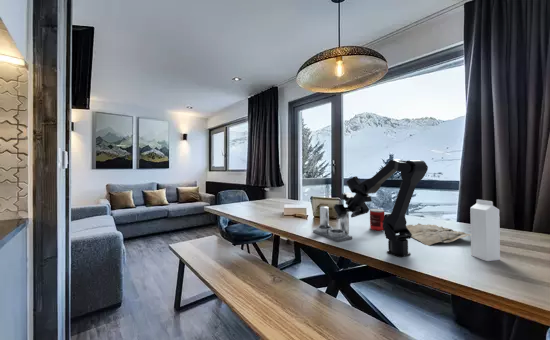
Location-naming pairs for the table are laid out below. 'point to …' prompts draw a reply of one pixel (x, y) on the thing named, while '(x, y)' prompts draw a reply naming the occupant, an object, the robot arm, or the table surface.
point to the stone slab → (434, 233)
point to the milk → (485, 231)
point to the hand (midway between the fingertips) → (344, 217)
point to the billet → (345, 223)
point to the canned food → (376, 219)
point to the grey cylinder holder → (329, 227)
